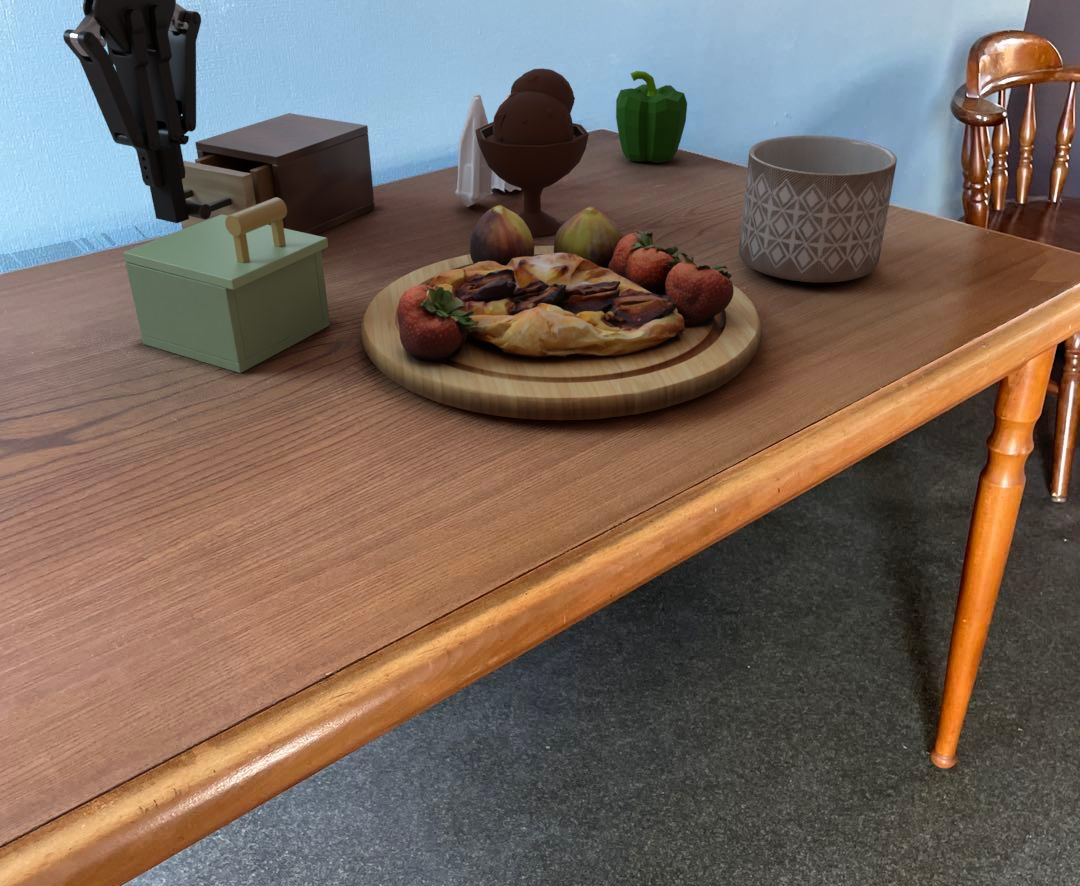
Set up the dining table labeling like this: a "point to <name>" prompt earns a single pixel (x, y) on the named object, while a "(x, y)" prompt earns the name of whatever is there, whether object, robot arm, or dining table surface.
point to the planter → (816, 207)
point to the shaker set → (475, 159)
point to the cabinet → (307, 166)
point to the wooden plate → (561, 324)
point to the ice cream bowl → (534, 141)
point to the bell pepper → (650, 120)
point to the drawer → (224, 186)
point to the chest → (230, 313)
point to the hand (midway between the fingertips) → (172, 218)
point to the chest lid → (230, 247)
